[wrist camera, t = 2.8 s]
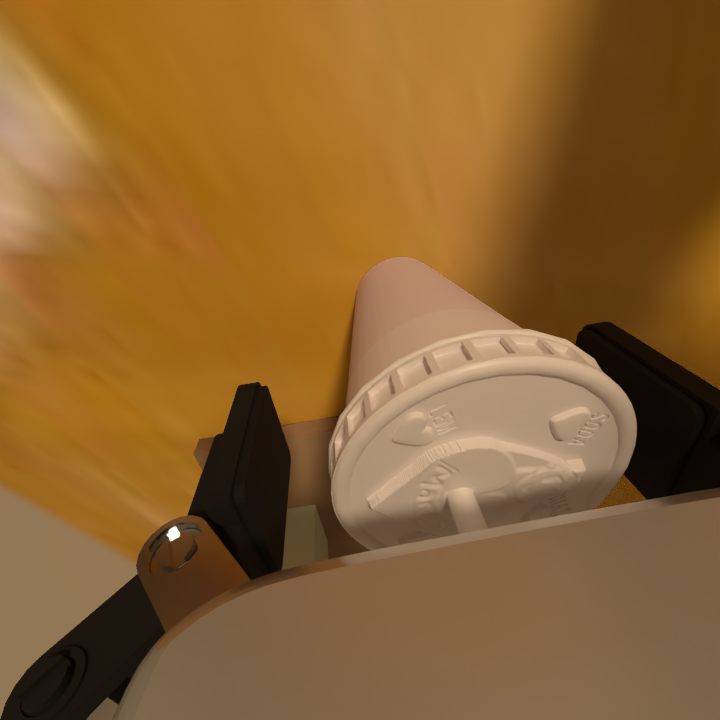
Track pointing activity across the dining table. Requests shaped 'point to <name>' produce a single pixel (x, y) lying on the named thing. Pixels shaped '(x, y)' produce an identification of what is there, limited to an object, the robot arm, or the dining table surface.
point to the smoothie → (465, 416)
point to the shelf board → (309, 478)
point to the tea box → (304, 537)
